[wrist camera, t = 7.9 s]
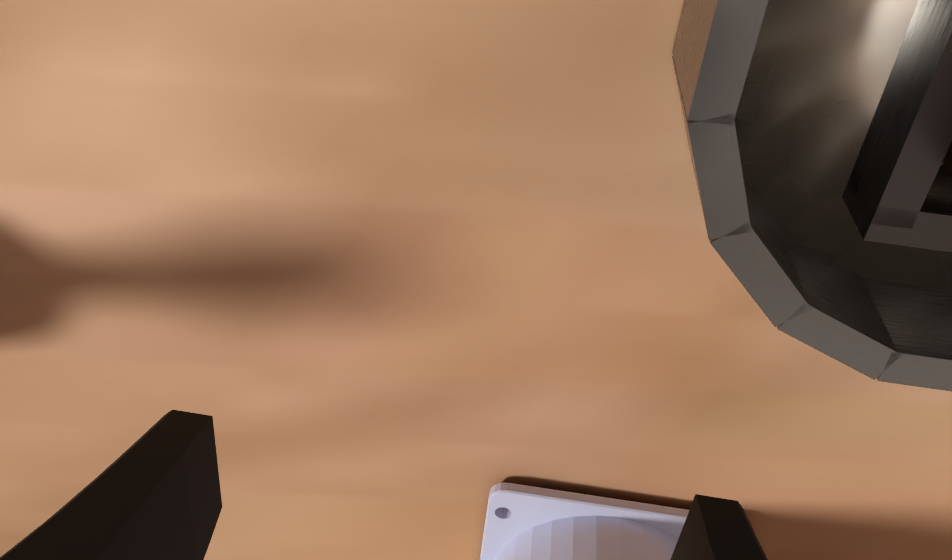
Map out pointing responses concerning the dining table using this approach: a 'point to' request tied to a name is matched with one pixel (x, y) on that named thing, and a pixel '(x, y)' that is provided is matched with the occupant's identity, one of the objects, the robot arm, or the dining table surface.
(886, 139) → the grey metal bowl
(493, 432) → the dining table surface
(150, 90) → the dining table surface
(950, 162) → the tan wooden block
